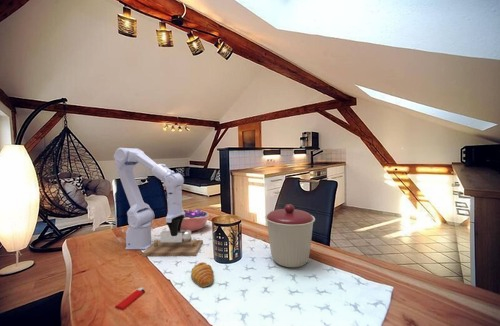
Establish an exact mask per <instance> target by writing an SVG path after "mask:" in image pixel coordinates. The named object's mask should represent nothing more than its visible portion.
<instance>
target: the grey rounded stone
mask: <svg viewBox="0 0 500 326" xmlns="http://www.w3.org/2000/svg"><path fill="white" fill-rule="evenodd" d="M159 235H160V237H159V238H160V242H183V243H188V242H190V241H191V240H192V231H191V230H178V233H177V236H171V233H170V230H161V232H160V234H159Z"/></svg>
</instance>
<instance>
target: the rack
mask: <svg viewBox="0 0 500 326" xmlns="http://www.w3.org/2000/svg"><path fill="white" fill-rule="evenodd" d="M153 241H154V243H153V244H152V245H151V246H150V247H149V248H148V249H144V251H143V252H142V257H196V256H197V254H198V253H199V252H200V249H201V247H202V245H203V244H204V241H203V239H197V238H194V239H191V241H190V242H188V243H183V242H160V240H159V239H154V240H153Z"/></svg>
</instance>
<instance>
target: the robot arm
mask: <svg viewBox="0 0 500 326" xmlns="http://www.w3.org/2000/svg"><path fill="white" fill-rule="evenodd" d="M113 159H114V161H115V164H116V170H117V174H118V177H119V179H120V182H121V185H122V188H123V191H124V193H125V196H126V198H127V201H128V204H129V207H130V208H129V209H128V210H127V212H126V215H127V223H128V227H127V229H126V232H125V246H126V247H125V248H124V250H146V249H148V248H149V247H150V246H151V245H152V244H153V243H154V240H152V224H153V221H154V220H155V213H154V210H153V209H152V208H151V207H150V205H149V204H148V203H146V202H144V200H143V199H144V198H143V197H142V194H141V191H140V188H139V186H138V185H139V184H138V183H137V180H136V176H135V175H134V172H133V170H134V168H136V166H137V165H138V164H141V165H143V166H144V167H146V168H147V169H149V170H151V173H152V175H153V176H154V177H156V178H157V179H159V180H160V181H161V182H162V183H163V185H164V187H165V189H166V194H167V196H166V197H167V199H166V200H167V214H166V217H165V224H166V226H168V229H169V230H168V231H170V233H171V236H177V233H178V230H180V229H181V224H182V221H183V218H184V214H185V212H184V208H183V197H182V195H183V193H182V191H183V190H182V189H183V188H182V186H183V184H184V183H185V178H184V176H183V175H182V174H181V173H179V172H177V173H176V172H175V171H174V170H171V169H170V168H168V166H167V165H166V164H165V163H156V161H154V160H152V158H150V157H149V156H148V155H146V154H145V152H144V150H141V149H140V148H138V147H134V148H131V147H130V148H129V147H118V148H117V149H116V150H115V152H114V154H113Z"/></svg>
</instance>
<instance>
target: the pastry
mask: <svg viewBox="0 0 500 326" xmlns="http://www.w3.org/2000/svg"><path fill="white" fill-rule="evenodd" d="M214 272H215V271H214V270H213V268H212V266H211V265H210V264H207V263H206V262H204V261H203V262H202V261H201V262H198V263H196V265H194V266H193V268H192V269H191V273H190V277H191V279H192V281H193V282H194V283H195V284H196V285H197V286H199V287H201V288H206V287H208V286H211V285H212V284H213V283H214V280H215V279H214V278H215V275H214Z"/></svg>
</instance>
